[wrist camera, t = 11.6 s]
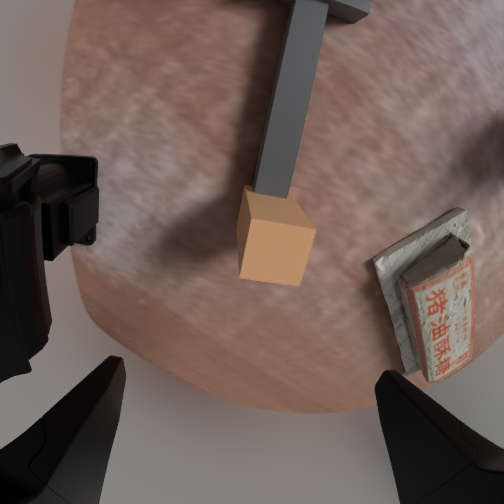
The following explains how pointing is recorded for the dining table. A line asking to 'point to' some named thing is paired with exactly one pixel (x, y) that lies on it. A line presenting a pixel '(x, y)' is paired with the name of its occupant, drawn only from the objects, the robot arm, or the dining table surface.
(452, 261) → the packaged product
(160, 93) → the dining table surface
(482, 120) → the dining table surface
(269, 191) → the scraper
